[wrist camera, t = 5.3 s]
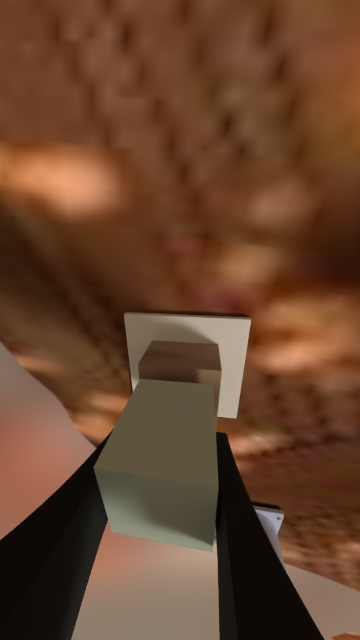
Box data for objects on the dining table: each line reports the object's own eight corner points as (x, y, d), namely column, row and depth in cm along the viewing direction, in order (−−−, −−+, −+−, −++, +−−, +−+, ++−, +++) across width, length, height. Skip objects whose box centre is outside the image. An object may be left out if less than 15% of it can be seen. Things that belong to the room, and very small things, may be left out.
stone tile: (235, 414, 18) (236, 418, 17) (136, 403, 19) (134, 407, 18) (249, 317, 14) (251, 319, 14) (126, 312, 15) (123, 314, 15)
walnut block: (213, 397, 17) (215, 433, 13) (155, 391, 17) (143, 424, 14) (218, 344, 15) (221, 370, 11) (152, 340, 15) (137, 364, 12)
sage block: (210, 438, 12) (212, 552, 8) (145, 431, 13) (111, 532, 8) (213, 384, 11) (218, 486, 6) (139, 378, 11) (93, 467, 7)
